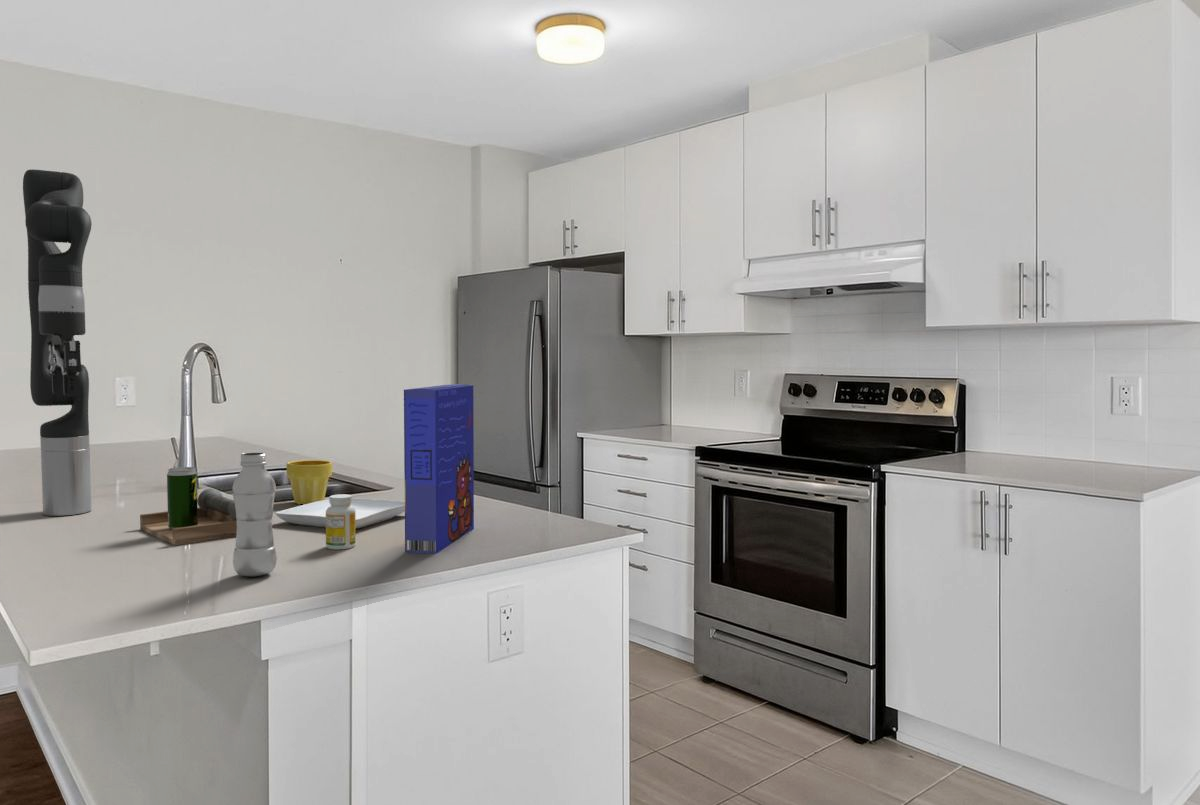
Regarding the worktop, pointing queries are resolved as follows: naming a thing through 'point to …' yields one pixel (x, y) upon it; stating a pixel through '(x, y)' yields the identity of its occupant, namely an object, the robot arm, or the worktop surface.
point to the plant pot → (309, 479)
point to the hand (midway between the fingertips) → (64, 394)
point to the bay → (212, 521)
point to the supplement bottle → (340, 523)
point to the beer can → (182, 497)
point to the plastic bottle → (254, 517)
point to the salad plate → (364, 508)
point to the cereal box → (438, 466)
